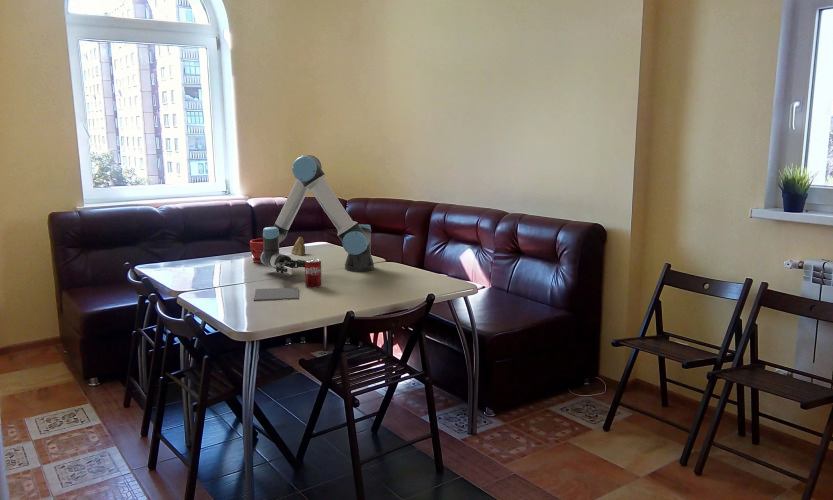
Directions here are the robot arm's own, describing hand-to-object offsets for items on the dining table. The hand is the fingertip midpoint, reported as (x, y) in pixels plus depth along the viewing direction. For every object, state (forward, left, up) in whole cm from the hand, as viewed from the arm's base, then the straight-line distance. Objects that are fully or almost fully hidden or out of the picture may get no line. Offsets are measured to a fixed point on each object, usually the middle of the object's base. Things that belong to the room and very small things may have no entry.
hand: (304, 269), depth 280 cm
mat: (+13, +17, -7) cm, 22 cm away
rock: (+2, -75, -7) cm, 76 cm away
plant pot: (+21, -56, -7) cm, 60 cm away
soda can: (-3, +5, -7) cm, 9 cm away
